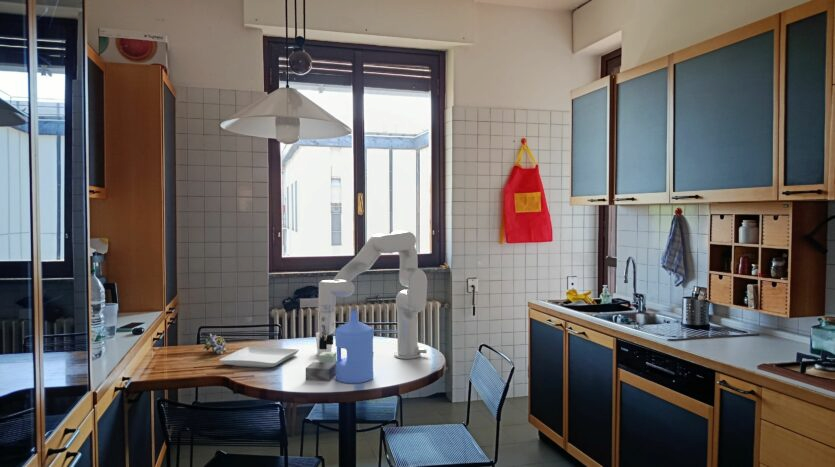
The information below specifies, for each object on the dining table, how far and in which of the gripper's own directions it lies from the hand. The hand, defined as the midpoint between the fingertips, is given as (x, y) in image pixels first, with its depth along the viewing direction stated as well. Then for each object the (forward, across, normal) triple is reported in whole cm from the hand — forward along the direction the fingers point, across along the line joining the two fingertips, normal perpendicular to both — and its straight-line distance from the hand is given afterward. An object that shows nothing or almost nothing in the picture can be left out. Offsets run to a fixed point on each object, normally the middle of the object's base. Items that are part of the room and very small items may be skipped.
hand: (326, 346), depth 261 cm
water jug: (+9, -16, -17) cm, 25 cm away
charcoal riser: (+9, -16, -3) cm, 18 cm away
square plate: (+10, +6, +33) cm, 35 cm away
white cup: (+9, +24, +8) cm, 27 cm away
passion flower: (+10, +17, +61) cm, 64 cm away
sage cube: (+9, 0, -1) cm, 9 cm away
